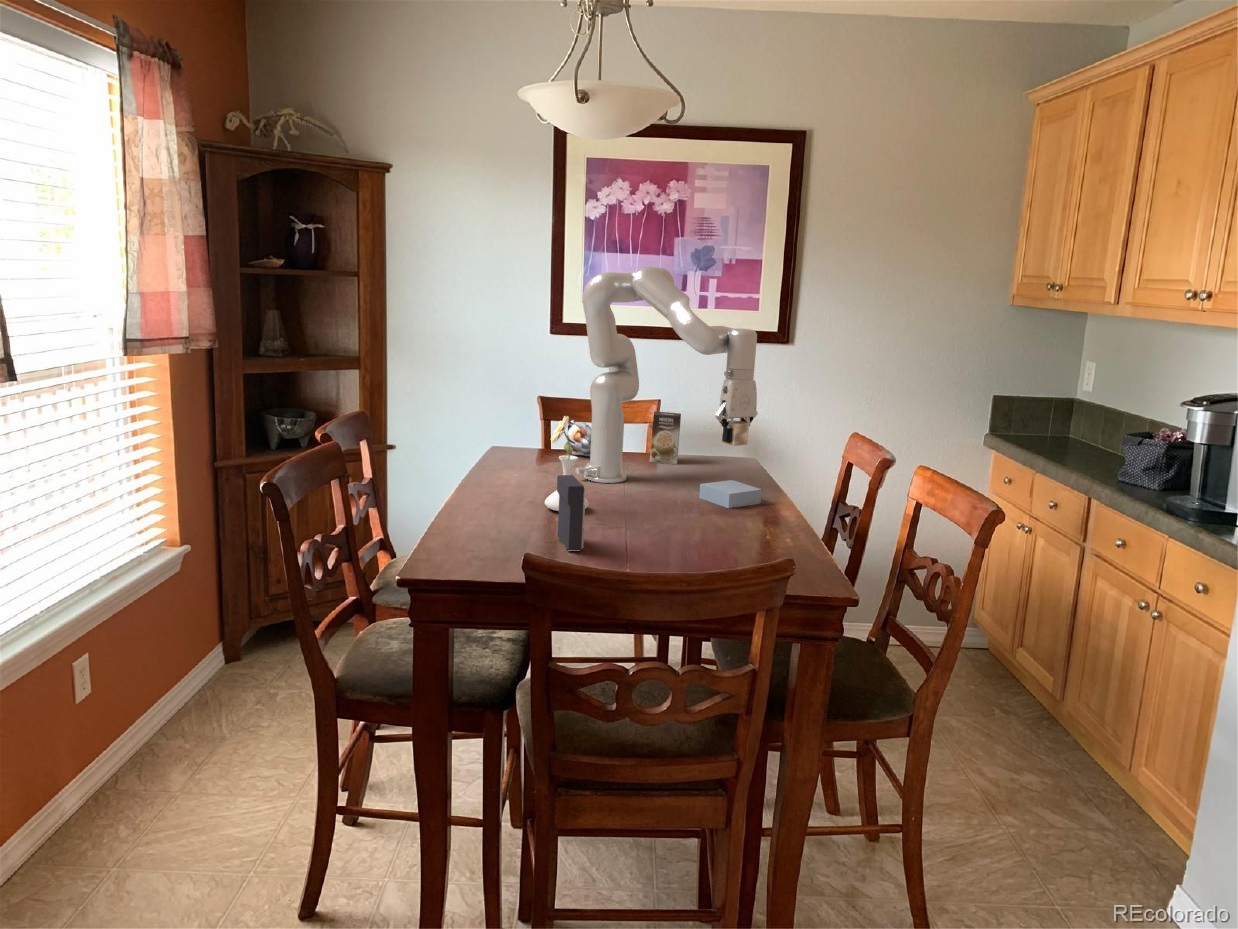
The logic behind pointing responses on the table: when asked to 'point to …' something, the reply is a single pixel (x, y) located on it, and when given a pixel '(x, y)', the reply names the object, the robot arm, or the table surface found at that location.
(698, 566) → the table surface
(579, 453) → the lucky cat figurine
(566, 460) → the flower in vase
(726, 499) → the base block
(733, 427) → the birch block
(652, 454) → the coffee box
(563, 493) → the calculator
